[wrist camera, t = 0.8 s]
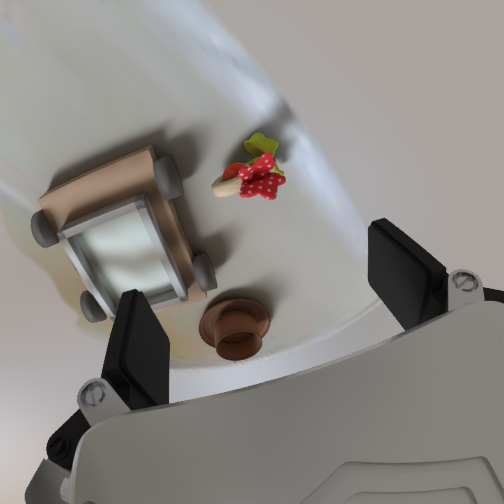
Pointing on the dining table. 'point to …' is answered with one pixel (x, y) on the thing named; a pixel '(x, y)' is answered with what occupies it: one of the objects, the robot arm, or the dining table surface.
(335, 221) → the dining table surface
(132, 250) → the chassis
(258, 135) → the bird rattle
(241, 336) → the cup and saucer
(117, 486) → the robot arm
